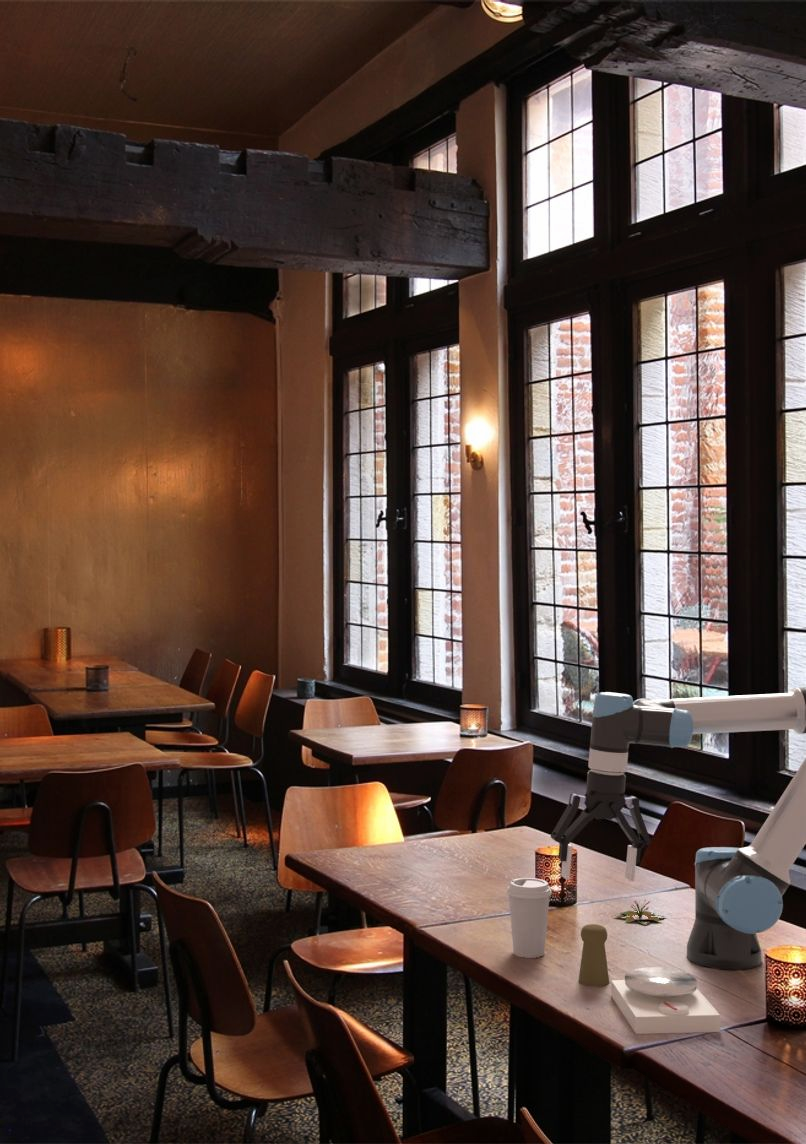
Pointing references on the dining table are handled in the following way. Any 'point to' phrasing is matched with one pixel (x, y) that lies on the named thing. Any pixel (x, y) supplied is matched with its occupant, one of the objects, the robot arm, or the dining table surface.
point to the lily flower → (639, 914)
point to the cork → (594, 956)
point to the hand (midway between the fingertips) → (597, 878)
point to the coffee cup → (529, 915)
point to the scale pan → (660, 982)
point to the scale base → (665, 1011)
